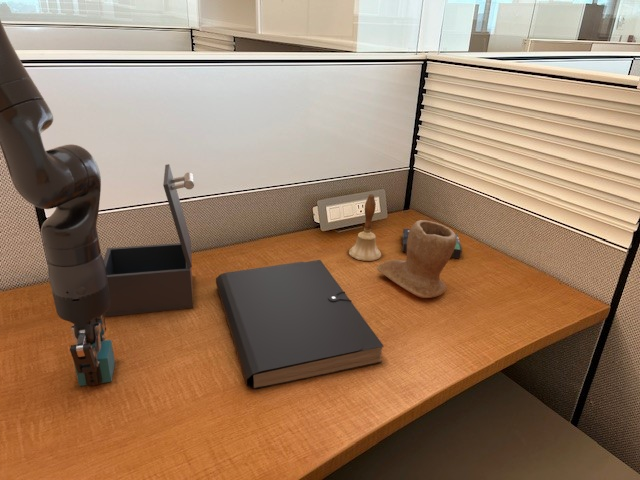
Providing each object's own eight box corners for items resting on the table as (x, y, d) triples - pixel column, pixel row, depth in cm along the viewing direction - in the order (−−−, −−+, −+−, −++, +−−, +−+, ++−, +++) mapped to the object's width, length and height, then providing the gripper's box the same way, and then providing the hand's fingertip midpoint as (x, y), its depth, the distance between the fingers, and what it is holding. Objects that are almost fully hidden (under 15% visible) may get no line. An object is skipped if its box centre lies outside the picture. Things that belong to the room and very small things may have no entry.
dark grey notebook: (385, 344, 82) (245, 373, 75) (383, 362, 84) (246, 393, 77) (321, 258, 110) (215, 272, 103) (320, 273, 112) (216, 289, 105)
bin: (105, 317, 93) (98, 277, 89) (113, 284, 104) (107, 248, 100) (193, 308, 97) (190, 270, 93) (192, 277, 108) (189, 242, 104)
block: (78, 386, 76) (73, 362, 74) (84, 366, 80) (79, 343, 78) (111, 381, 77) (107, 358, 75) (115, 362, 81) (111, 339, 79)
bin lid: (163, 185, 85) (191, 179, 86) (165, 164, 96) (190, 159, 97) (187, 268, 93) (213, 262, 94) (187, 240, 104) (210, 235, 105)
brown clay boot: (458, 292, 107) (470, 231, 101) (419, 306, 101) (429, 242, 95) (412, 264, 118) (420, 207, 112) (374, 275, 112) (381, 216, 106)
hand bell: (371, 244, 127) (376, 187, 121) (387, 258, 121) (394, 198, 114) (343, 249, 124) (347, 191, 117) (358, 263, 117) (363, 202, 111)
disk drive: (402, 253, 124) (461, 259, 122) (403, 244, 123) (462, 249, 121) (401, 237, 133) (456, 241, 131) (402, 228, 132) (458, 232, 130)
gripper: (62, 261, 76) (80, 348, 83) (39, 311, 64) (62, 408, 71) (113, 258, 78) (126, 343, 85) (100, 306, 66) (116, 400, 73)
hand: (97, 372), depth 78 cm, fingers closed on block, 4 cm apart
